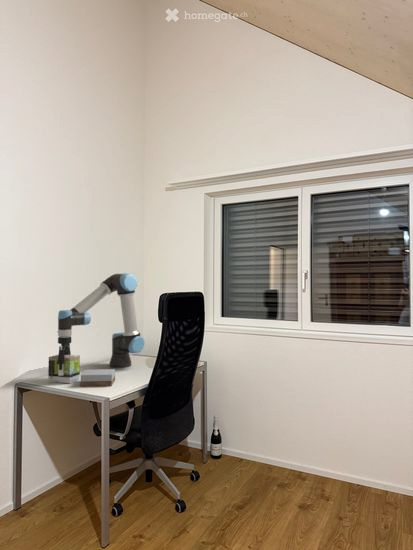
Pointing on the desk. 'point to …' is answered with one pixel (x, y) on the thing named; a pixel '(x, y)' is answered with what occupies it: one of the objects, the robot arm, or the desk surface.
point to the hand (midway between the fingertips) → (64, 372)
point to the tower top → (98, 375)
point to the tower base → (96, 383)
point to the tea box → (70, 369)
